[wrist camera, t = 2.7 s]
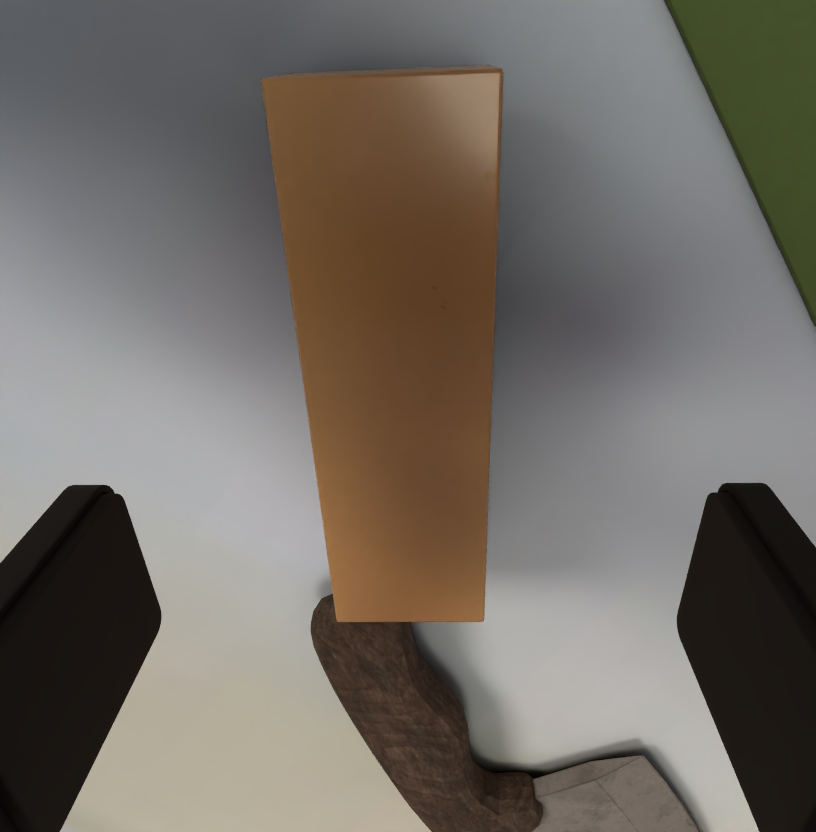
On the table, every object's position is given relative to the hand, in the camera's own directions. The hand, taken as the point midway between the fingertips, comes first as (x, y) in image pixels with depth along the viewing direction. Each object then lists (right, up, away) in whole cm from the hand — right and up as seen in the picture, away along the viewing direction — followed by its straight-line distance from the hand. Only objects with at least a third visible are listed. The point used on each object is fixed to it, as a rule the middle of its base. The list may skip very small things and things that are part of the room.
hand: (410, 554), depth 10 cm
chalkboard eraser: (0, +4, +6) cm, 8 cm away
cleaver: (+6, -14, +17) cm, 23 cm away
